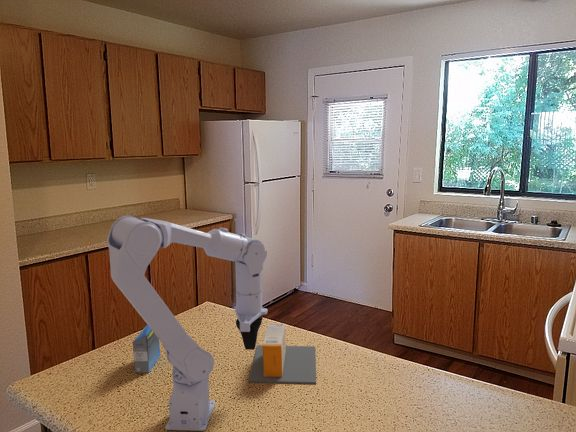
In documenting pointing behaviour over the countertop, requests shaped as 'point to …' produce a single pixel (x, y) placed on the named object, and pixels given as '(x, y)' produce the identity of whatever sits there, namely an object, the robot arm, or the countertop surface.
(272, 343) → the supplement box
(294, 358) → the mat
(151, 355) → the label tape cartridge
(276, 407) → the countertop surface
